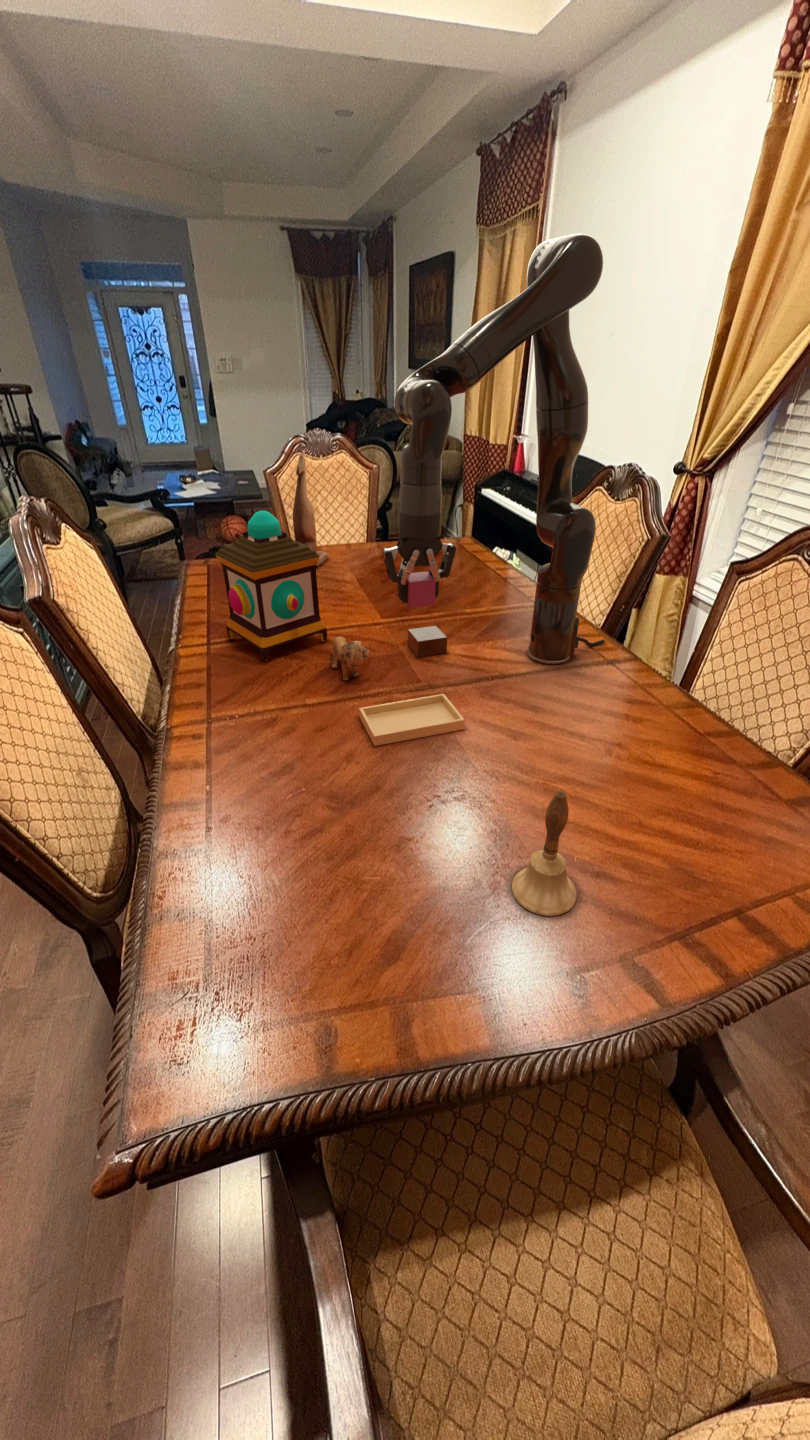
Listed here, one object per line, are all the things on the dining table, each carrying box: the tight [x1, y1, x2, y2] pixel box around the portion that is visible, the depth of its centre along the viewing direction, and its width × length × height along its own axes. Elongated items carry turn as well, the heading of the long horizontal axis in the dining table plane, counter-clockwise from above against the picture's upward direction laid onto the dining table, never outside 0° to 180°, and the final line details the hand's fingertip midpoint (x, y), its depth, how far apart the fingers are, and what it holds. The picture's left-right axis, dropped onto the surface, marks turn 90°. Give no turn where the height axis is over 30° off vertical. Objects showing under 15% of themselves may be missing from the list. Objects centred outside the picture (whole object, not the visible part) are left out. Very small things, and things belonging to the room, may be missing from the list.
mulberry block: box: [405, 570, 436, 609], centre depth 115 cm, size 5×5×5 cm
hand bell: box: [511, 790, 578, 917], centre depth 75 cm, size 8×8×16 cm
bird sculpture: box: [292, 454, 329, 568], centre depth 187 cm, size 11×12×32 cm
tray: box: [358, 693, 466, 747], centre depth 113 cm, size 17×10×2 cm, turn 109°
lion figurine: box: [329, 636, 371, 681], centre depth 129 cm, size 15×5×9 cm, turn 33°
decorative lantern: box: [215, 510, 328, 662], centre depth 137 cm, size 20×20×30 cm
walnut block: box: [407, 625, 448, 658], centre depth 140 cm, size 7×7×4 cm
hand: (418, 600), depth 116 cm, fingers closed on mulberry block, 5 cm apart
